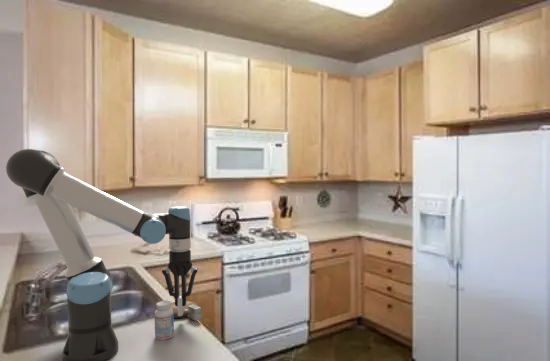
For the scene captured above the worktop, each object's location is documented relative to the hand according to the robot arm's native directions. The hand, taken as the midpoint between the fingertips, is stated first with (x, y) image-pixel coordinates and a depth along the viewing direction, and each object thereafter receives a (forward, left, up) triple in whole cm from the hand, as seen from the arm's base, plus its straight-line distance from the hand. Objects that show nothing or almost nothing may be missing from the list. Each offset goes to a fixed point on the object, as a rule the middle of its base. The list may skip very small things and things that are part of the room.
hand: (180, 314), depth 137 cm
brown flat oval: (-1, +8, -3) cm, 8 cm away
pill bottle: (-3, -11, -3) cm, 12 cm away
